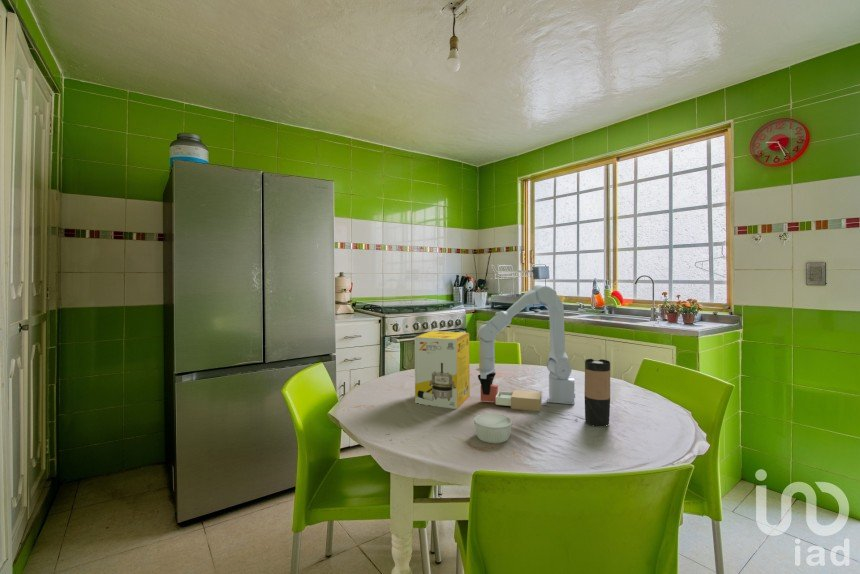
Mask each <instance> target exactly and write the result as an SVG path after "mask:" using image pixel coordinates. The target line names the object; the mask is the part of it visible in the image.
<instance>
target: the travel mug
mask: <svg viewBox="0 0 860 574" xmlns="http://www.w3.org/2000/svg"><path fill="white" fill-rule="evenodd" d="M610 409H611V361H610V360H607V359H599V360H595V359H593V358H587V359H585V360H584V421H585V423H586V424H587V425H589V424H590V425H589V426H592V425H594V426H593V427H596V426H606V425H608V424H609V425H610V416H611V415H610V413H611V411H610ZM609 425H608V426H609ZM606 427H607V426H606Z"/></svg>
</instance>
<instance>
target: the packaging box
mask: <svg viewBox="0 0 860 574" xmlns="http://www.w3.org/2000/svg"><path fill="white" fill-rule="evenodd" d="M470 379H471V378H470V333H469V332H459V331H458V332H457V331H437V330H430V331H427V332H424V333H422V334H419V335H417V336H414V400H415V401H414V404H415V403H419V404H418V405H420V404H426V405H425V406H428V405H431V406H430V407H436V406H437V408H444V409H446V408H447V409H453V410H457V409H459V407H460V406H461V405H462V404H463V403H464V402H465V401H466V400H468V398H469V397H470V395H471V394H470V390H471V389H470V388H471V387H470V386H471V385H470Z"/></svg>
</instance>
